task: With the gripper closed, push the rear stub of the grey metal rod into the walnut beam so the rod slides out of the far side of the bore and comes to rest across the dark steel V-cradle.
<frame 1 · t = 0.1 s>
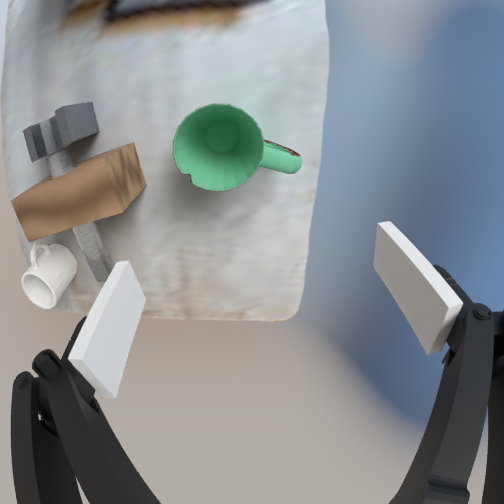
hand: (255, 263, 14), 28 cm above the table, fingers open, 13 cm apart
mug: (239, 139, 37), on the table
beam: (91, 180, 38), on the table
cradle: (75, 126, 33), on the table
axle: (79, 217, 34), point 7 cm above the table, slide at 0.0 cm
mug 2: (60, 251, 44), on the table
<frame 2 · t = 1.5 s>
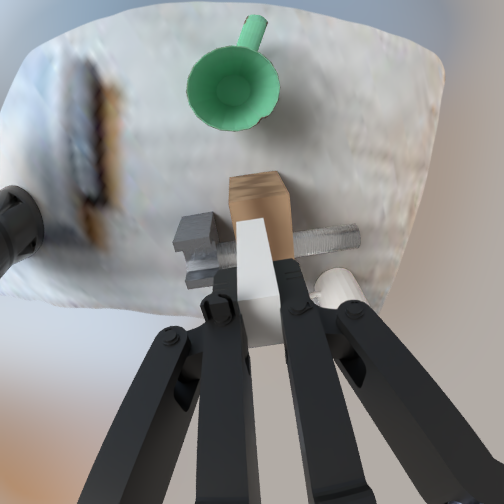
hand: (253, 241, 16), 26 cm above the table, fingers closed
mug: (238, 75, 33), on the table
beam: (260, 227, 45), on the table
cradle: (202, 236, 45), on the table
axle: (289, 245, 39), point 7 cm above the table, slide at 0.0 cm
mug 2: (324, 282, 52), on the table
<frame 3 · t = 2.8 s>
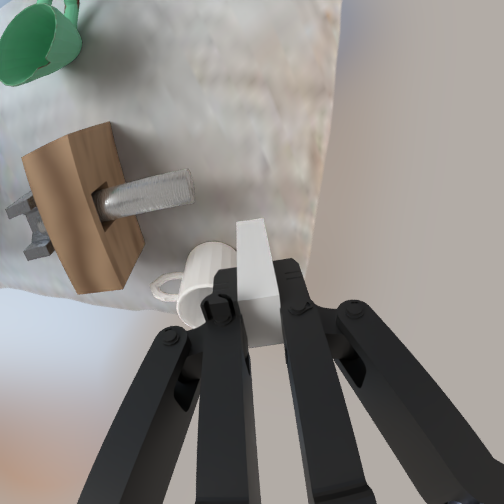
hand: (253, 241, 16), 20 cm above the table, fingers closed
mug: (72, 32, 21), on the table
beam: (104, 191, 34), on the table
cradle: (55, 206, 34), on the table
axle: (106, 204, 28), point 7 cm above the table, slide at 0.0 cm
mug 2: (200, 262, 41), on the table
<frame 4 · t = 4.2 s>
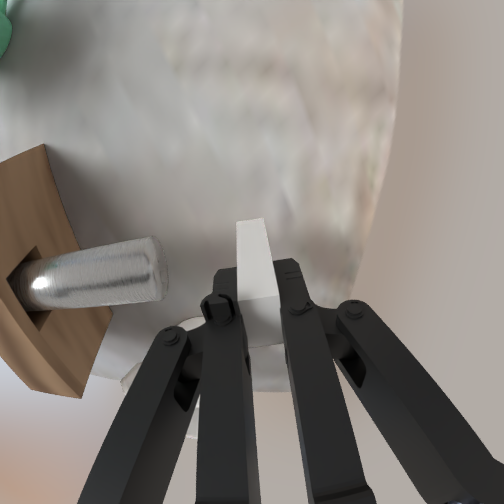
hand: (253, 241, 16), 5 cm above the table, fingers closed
mug: (4, 19, 9), on the table
beam: (50, 245, 21), on the table
axle: (37, 285, 15), point 7 cm above the table, slide at 0.0 cm
mug 2: (190, 338, 28), on the table
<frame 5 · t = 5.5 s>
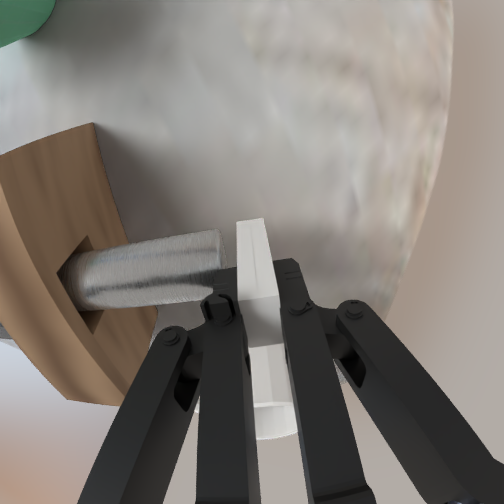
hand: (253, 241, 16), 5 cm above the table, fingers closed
beam: (90, 237, 21), on the table
axle: (72, 283, 15), point 7 cm above the table, slide at 1.6 cm, touching gripper
mug 2: (240, 336, 28), on the table
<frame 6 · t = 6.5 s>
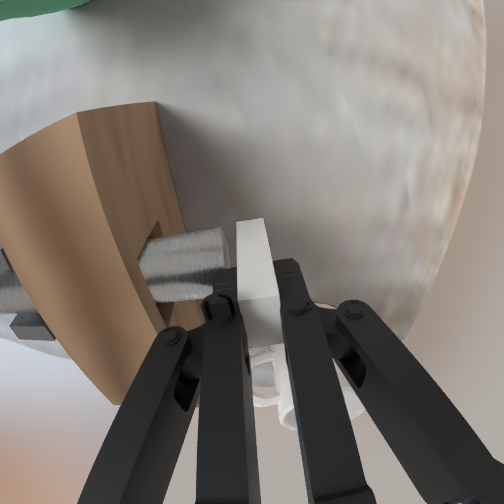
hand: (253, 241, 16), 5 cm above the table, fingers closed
beam: (140, 226, 21), on the table
cradle: (55, 244, 21), on the table
axle: (74, 282, 15), point 7 cm above the table, slide at 6.4 cm
mug 2: (289, 328, 28), on the table
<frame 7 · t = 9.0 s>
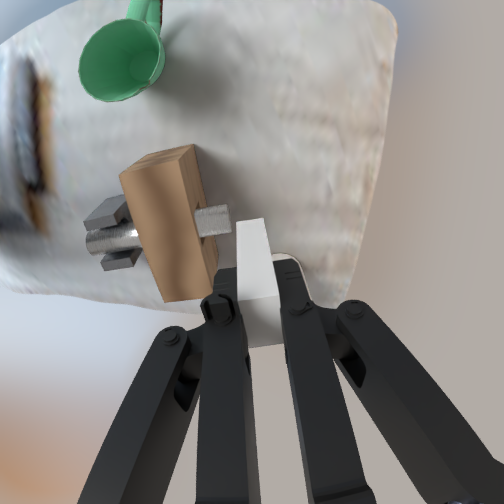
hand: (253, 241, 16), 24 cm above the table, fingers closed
mug: (150, 50, 28), on the table
beam: (183, 207, 40), on the table
cradle: (127, 218, 41), on the table
axle: (153, 231, 35), point 7 cm above the table, slide at 6.4 cm
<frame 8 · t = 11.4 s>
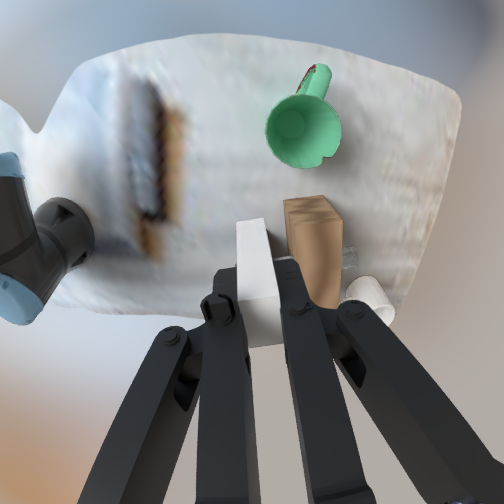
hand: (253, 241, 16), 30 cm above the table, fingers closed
mug: (294, 110, 39), on the table
beam: (305, 242, 52), on the table
axle: (297, 265, 46), point 7 cm above the table, slide at 6.4 cm
mug 2: (354, 288, 59), on the table
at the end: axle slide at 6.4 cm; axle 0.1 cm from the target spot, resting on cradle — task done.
